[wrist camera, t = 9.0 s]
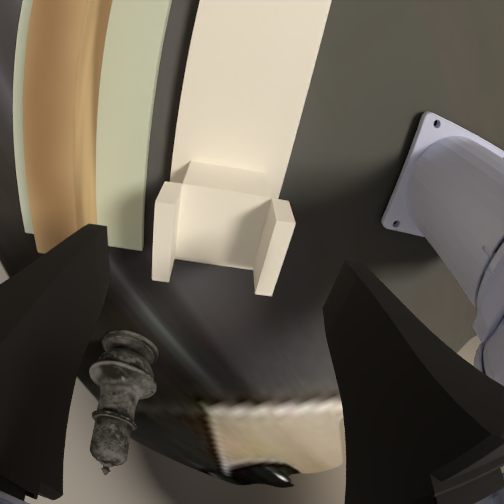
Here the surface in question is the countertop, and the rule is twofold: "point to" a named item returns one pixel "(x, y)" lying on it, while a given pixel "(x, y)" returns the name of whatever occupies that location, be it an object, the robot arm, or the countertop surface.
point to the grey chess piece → (120, 393)
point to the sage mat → (112, 115)
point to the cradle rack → (237, 137)
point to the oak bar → (62, 114)
